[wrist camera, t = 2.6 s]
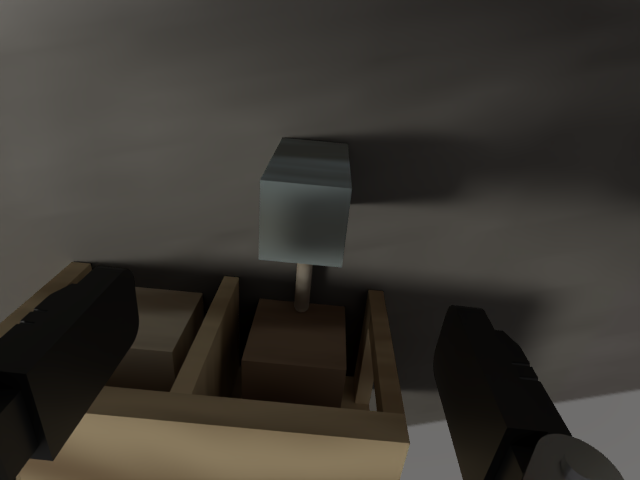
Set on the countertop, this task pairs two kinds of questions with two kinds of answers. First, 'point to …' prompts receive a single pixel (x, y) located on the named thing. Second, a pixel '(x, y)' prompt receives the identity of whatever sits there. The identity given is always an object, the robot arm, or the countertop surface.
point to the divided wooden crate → (234, 414)
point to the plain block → (160, 339)
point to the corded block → (300, 277)
